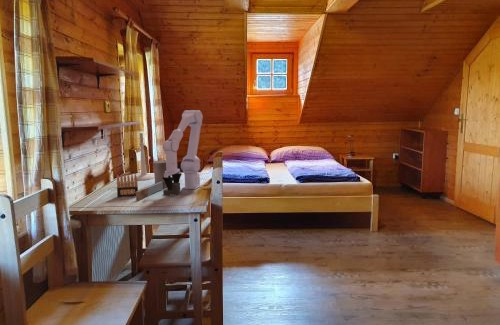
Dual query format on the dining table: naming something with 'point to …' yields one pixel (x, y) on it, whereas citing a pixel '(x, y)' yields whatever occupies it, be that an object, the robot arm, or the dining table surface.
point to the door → (155, 188)
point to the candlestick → (143, 163)
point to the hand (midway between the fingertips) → (173, 188)
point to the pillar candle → (159, 170)
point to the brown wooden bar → (146, 192)
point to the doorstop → (173, 190)
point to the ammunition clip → (127, 186)
